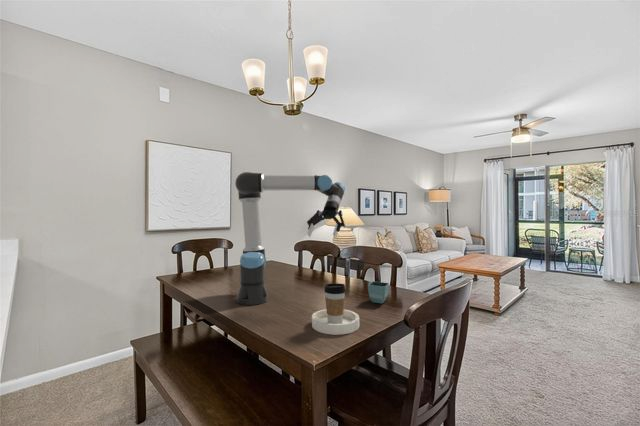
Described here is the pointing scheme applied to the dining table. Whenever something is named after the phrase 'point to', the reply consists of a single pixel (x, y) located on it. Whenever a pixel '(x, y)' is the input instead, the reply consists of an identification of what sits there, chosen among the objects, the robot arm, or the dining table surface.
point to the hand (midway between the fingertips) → (321, 235)
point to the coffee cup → (335, 302)
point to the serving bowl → (348, 325)
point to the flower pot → (378, 291)
